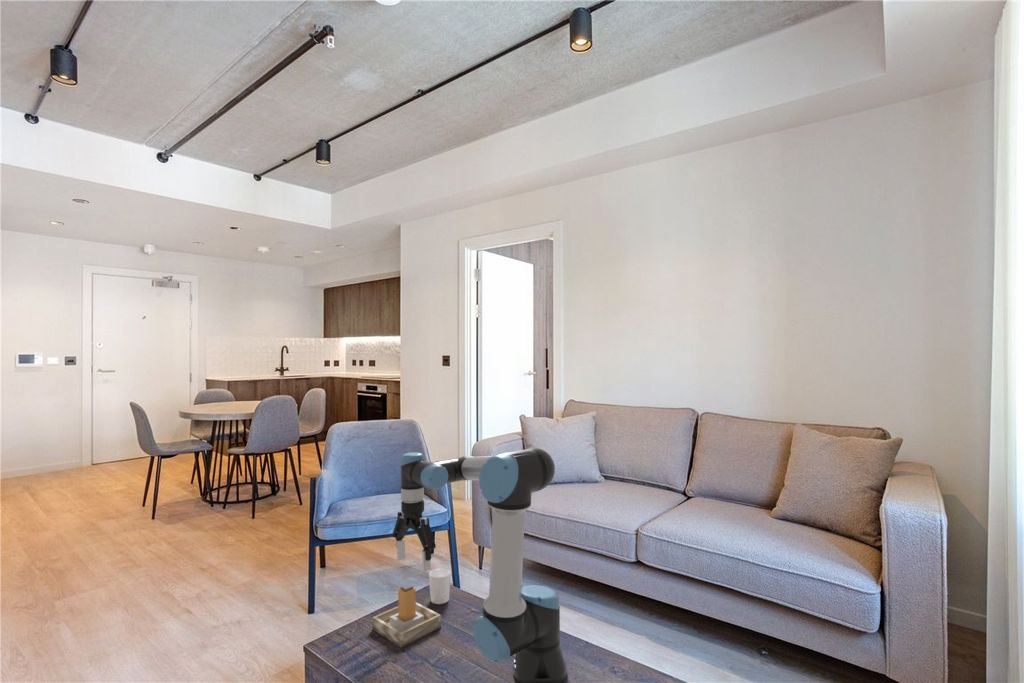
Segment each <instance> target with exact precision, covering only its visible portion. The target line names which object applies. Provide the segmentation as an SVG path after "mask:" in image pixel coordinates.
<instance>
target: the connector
mask: <svg viewBox="0 0 1024 683" xmlns="http://www.w3.org/2000/svg"><path fill="white" fill-rule="evenodd" d="M397 590H398V591H397V592H398V594H397V596H398V598H397V600H398V618H399V619H400V620H402V621H404V622H406V621H408V620H410V619H413V618H415V617H416V602H417V601H416V591H417V590H416V588H415V587H414V586H413V584H412V585H411V584H409V583H406V584H404V585H401V586H400V588H398V589H397Z"/></svg>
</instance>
